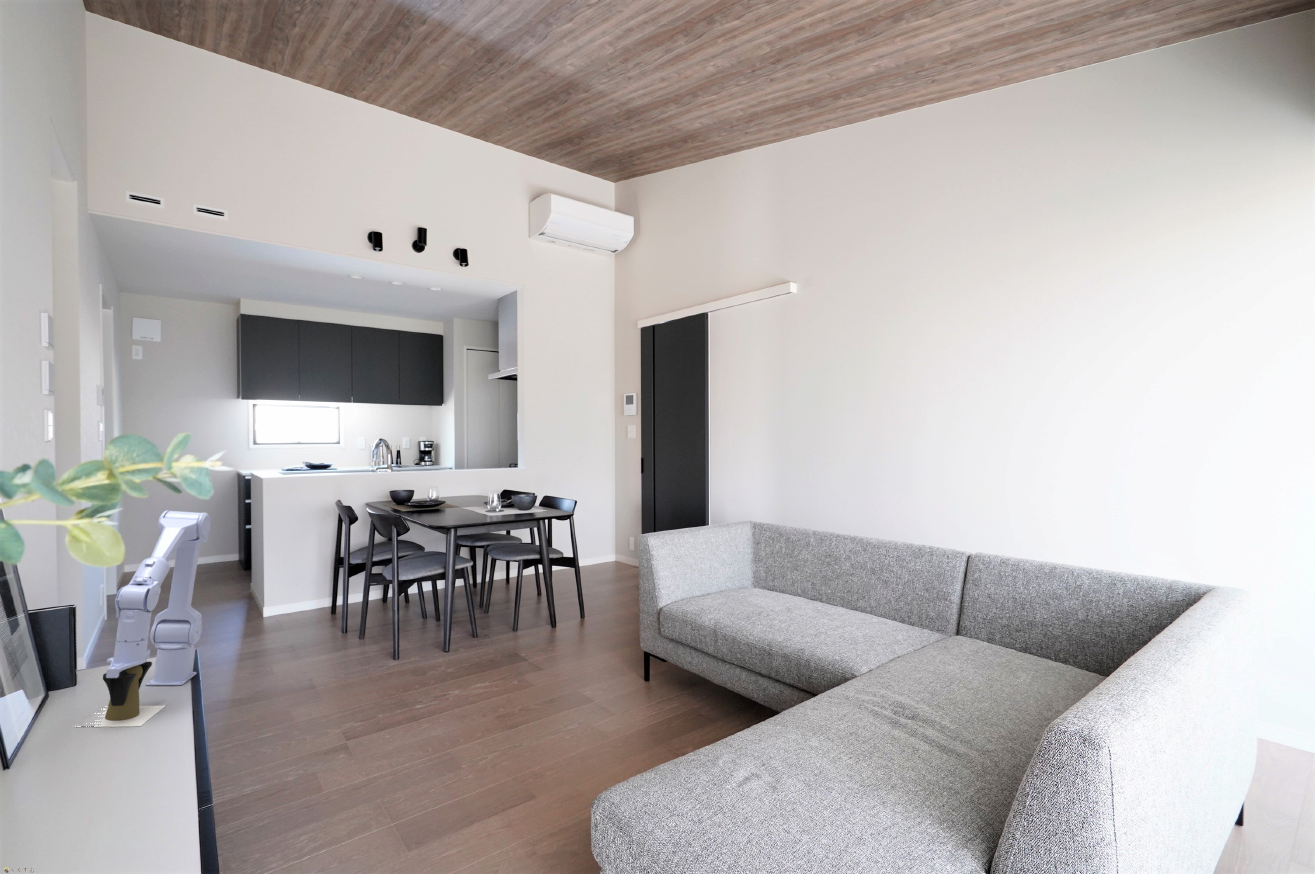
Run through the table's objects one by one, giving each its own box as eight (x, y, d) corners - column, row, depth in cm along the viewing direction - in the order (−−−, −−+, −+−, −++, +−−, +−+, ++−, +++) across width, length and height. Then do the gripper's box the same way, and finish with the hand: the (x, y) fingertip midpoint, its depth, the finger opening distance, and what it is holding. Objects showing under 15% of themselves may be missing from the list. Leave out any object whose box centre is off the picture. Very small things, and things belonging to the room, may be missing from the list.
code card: (105, 706, 150) (105, 705, 150) (165, 706, 153) (165, 705, 153) (74, 727, 139) (74, 726, 139) (140, 726, 142) (140, 725, 142)
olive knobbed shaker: (124, 721, 143) (130, 670, 144) (97, 719, 143) (104, 667, 144) (146, 711, 149) (152, 662, 150) (120, 709, 149) (126, 660, 150)
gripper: (127, 630, 153) (120, 689, 152) (92, 647, 139) (84, 712, 138) (162, 630, 155) (155, 689, 154) (131, 648, 141) (123, 712, 140)
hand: (124, 700), depth 146 cm, fingers closed on olive knobbed shaker, 5 cm apart
